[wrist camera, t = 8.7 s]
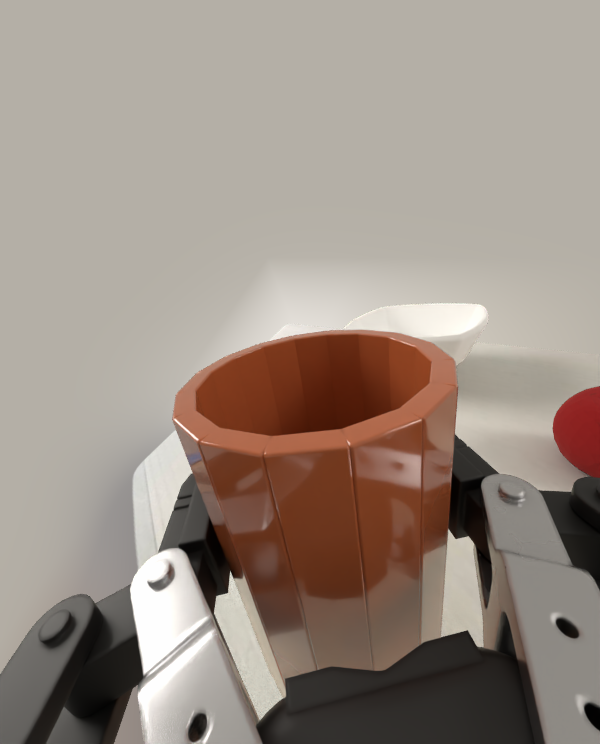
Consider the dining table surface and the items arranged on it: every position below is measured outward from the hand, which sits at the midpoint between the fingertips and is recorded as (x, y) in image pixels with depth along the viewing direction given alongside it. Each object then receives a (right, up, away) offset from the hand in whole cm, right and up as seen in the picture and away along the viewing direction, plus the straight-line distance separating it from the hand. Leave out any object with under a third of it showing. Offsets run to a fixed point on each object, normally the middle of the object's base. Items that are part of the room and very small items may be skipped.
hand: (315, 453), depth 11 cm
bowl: (+21, +2, +43) cm, 47 cm away
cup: (+1, -7, 0) cm, 7 cm away
